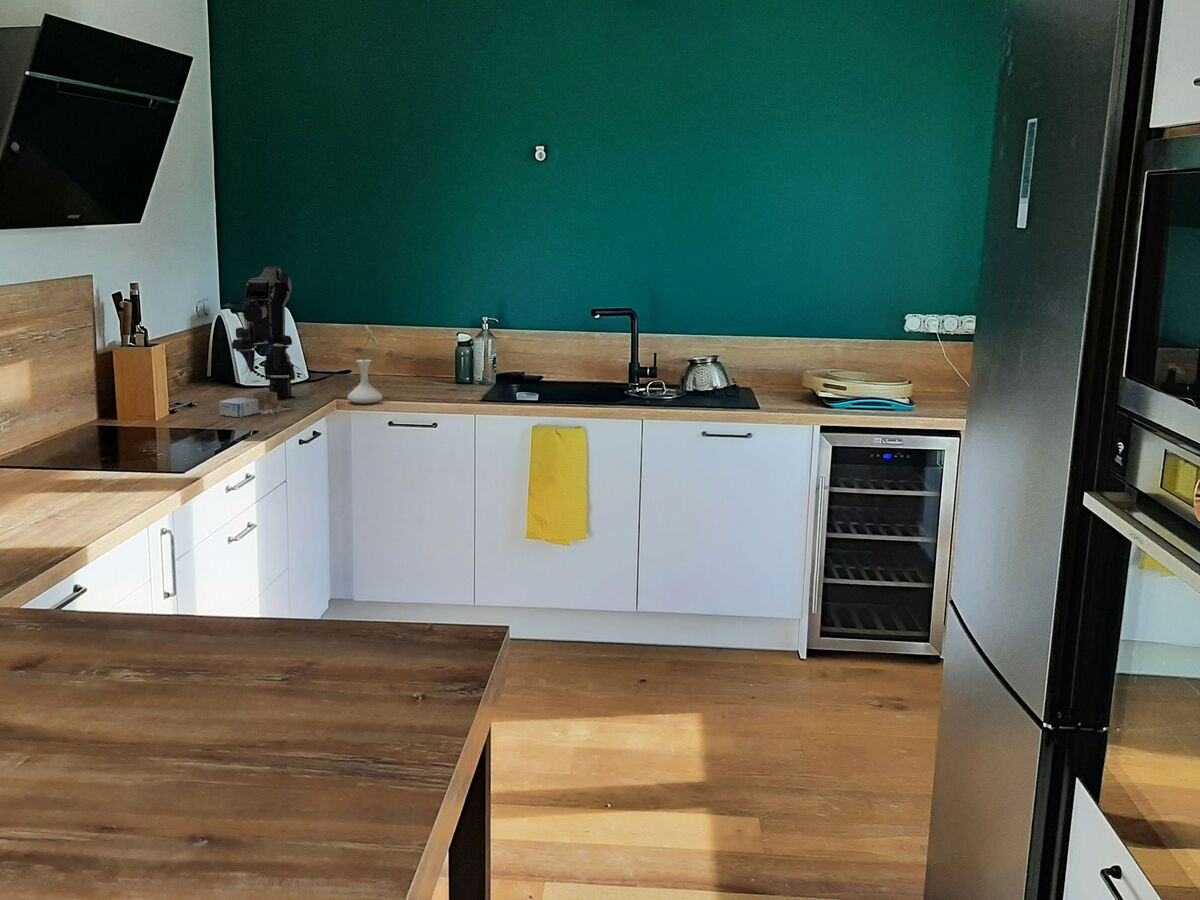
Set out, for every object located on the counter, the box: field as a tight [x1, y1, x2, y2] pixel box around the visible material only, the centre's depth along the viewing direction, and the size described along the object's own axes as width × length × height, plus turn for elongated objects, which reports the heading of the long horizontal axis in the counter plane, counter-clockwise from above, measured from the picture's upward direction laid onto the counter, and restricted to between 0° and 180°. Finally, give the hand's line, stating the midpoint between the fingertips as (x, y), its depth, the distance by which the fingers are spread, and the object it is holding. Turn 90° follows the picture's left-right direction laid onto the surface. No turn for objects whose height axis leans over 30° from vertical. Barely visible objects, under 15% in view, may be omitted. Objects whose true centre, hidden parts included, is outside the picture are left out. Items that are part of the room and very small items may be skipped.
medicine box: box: [218, 396, 259, 418], centre depth 357 cm, size 8×4×9 cm
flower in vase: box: [346, 324, 383, 404], centre depth 378 cm, size 13×11×25 cm
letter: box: [257, 410, 280, 415], centre depth 366 cm, size 12×14×1 cm
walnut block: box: [253, 390, 278, 411], centre depth 366 cm, size 5×5×5 cm
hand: (263, 370), depth 364 cm, fingers open, 9 cm apart
